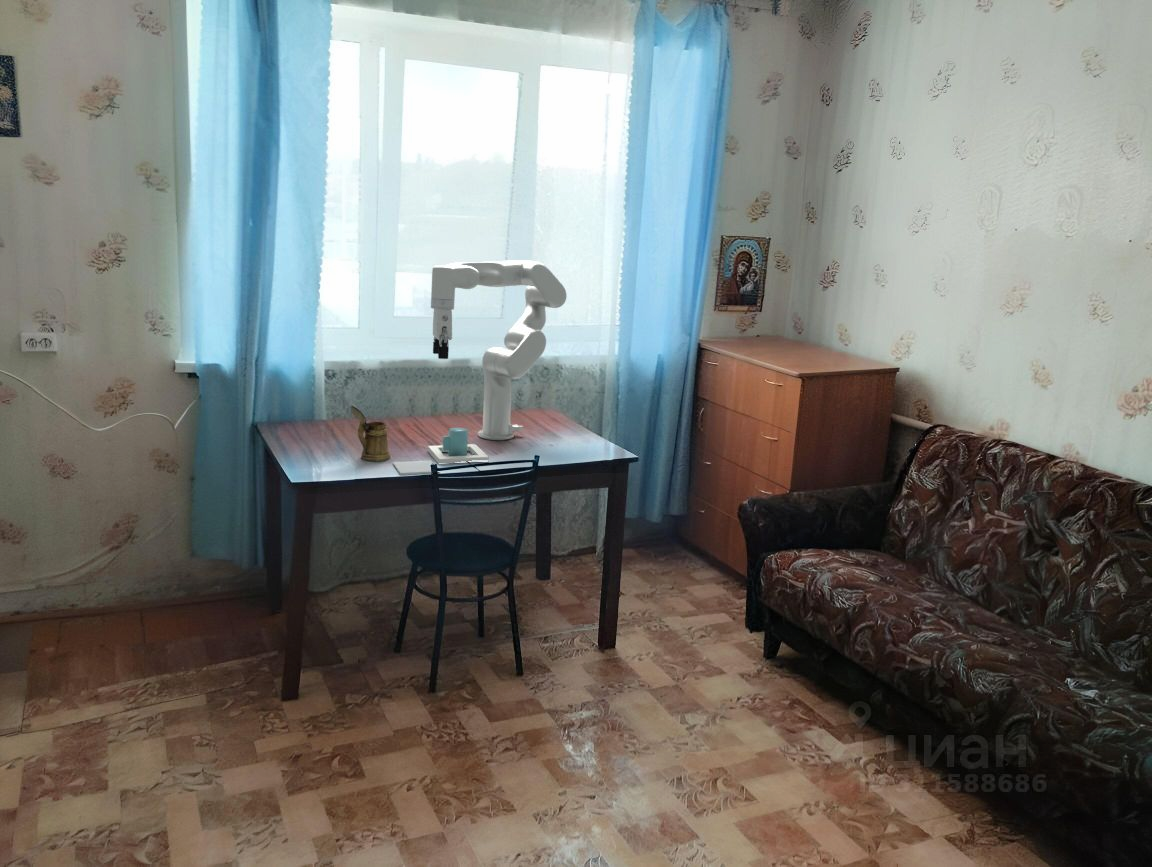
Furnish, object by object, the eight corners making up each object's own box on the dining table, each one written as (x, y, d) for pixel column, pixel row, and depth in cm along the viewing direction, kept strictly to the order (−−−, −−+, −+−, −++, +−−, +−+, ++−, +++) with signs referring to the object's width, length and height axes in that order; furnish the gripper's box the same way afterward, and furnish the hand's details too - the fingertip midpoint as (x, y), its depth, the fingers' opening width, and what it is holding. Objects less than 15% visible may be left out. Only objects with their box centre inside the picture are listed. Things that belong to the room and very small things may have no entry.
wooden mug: (343, 458, 309) (343, 402, 305) (380, 452, 318) (380, 398, 314) (358, 465, 303) (358, 408, 299) (395, 459, 312) (396, 403, 308)
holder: (475, 449, 329) (475, 444, 329) (488, 462, 315) (488, 456, 314) (427, 451, 323) (428, 445, 323) (439, 464, 309) (439, 459, 308)
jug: (464, 453, 323) (465, 427, 321) (469, 458, 317) (470, 431, 315) (440, 455, 320) (441, 428, 318) (444, 460, 315) (445, 432, 312)
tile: (430, 462, 311) (430, 460, 311) (439, 473, 300) (439, 471, 300) (392, 464, 307) (392, 462, 306) (400, 474, 296) (400, 473, 296)
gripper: (459, 307, 313) (456, 360, 317) (449, 301, 329) (446, 352, 333) (435, 306, 311) (433, 360, 315) (426, 300, 327) (424, 351, 330)
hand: (440, 356), depth 324 cm, fingers open, 9 cm apart
